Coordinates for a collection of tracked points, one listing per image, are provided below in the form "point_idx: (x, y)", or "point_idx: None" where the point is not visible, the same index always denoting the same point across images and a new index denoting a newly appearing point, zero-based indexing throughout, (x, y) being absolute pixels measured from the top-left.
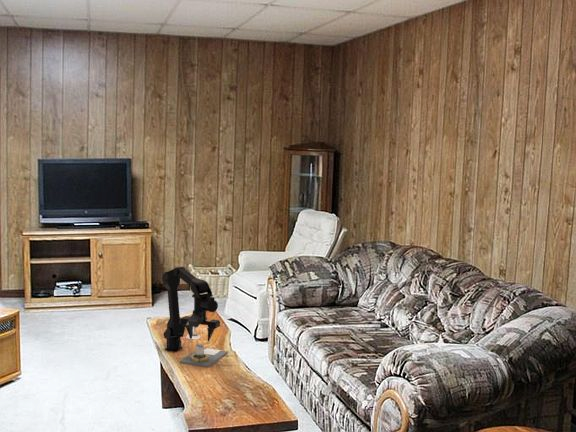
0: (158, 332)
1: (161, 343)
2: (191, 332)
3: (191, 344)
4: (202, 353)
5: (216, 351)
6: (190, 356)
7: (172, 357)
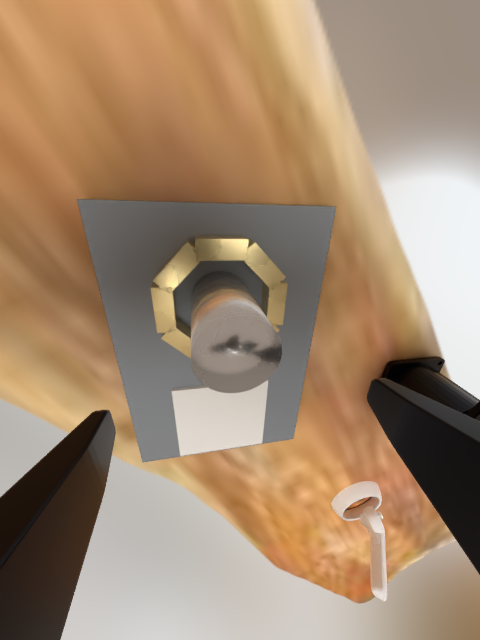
0: None
1: None
2: (443, 472)
3: (344, 453)
4: (193, 309)
5: (192, 435)
6: (283, 274)
7: (390, 286)
